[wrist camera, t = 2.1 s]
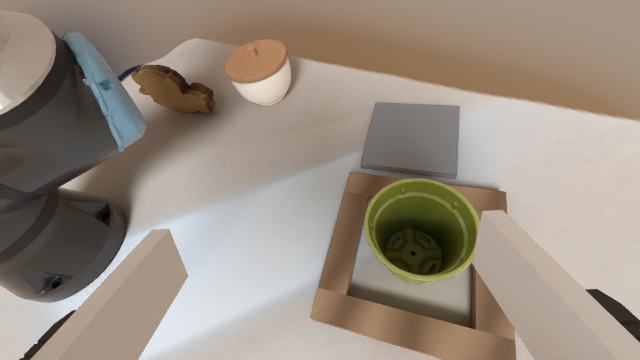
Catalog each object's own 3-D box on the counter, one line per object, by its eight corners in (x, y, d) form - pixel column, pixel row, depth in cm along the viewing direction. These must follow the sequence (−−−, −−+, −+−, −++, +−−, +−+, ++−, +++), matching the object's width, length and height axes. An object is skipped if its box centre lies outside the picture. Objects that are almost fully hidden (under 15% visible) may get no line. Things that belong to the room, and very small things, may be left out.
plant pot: (426, 322, 27) (441, 307, 20) (352, 260, 32) (343, 231, 25) (475, 250, 30) (504, 215, 23) (400, 203, 34) (404, 162, 27)
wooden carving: (229, 103, 53) (200, 55, 45) (218, 120, 50) (186, 73, 42) (163, 99, 58) (126, 56, 50) (150, 115, 56) (110, 72, 47)
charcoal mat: (361, 167, 39) (360, 163, 38) (376, 107, 44) (376, 102, 44) (455, 178, 35) (456, 174, 34) (458, 111, 41) (459, 106, 40)
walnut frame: (313, 319, 29) (309, 317, 28) (350, 178, 38) (349, 172, 37) (510, 380, 24) (517, 381, 22) (501, 198, 32) (505, 191, 31)
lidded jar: (276, 69, 56) (259, 22, 48) (309, 90, 50) (296, 40, 42) (233, 99, 53) (207, 54, 45) (263, 124, 48) (239, 78, 40)
